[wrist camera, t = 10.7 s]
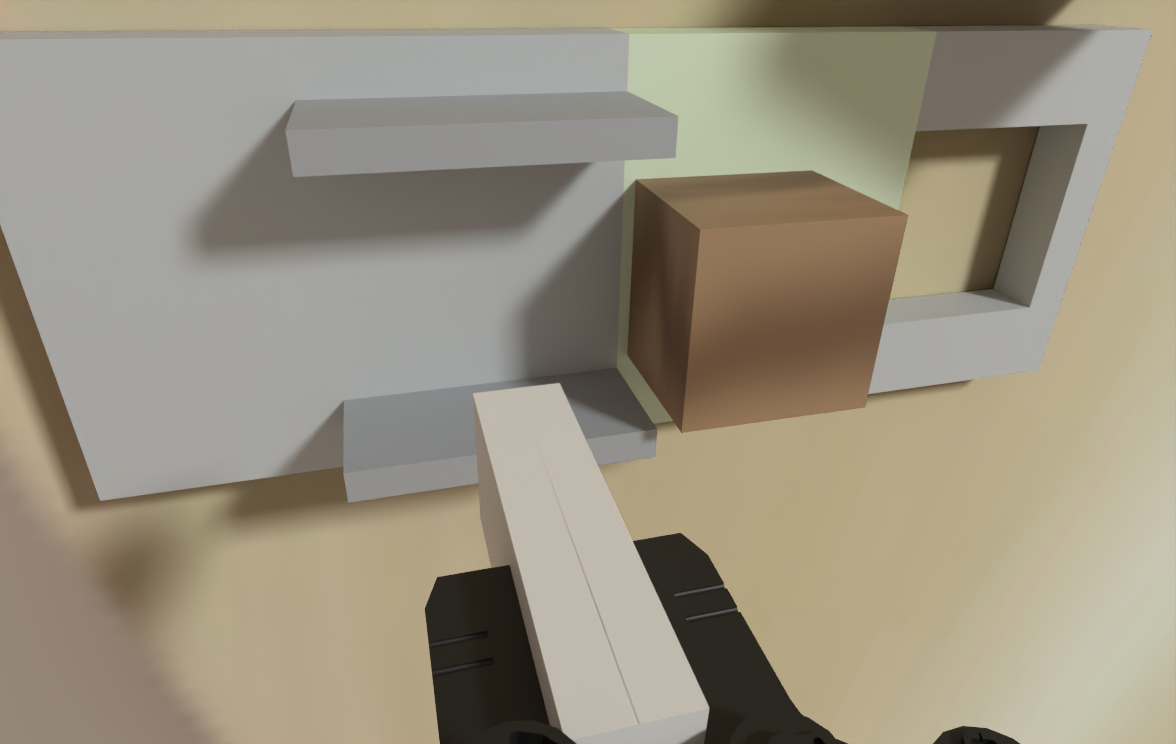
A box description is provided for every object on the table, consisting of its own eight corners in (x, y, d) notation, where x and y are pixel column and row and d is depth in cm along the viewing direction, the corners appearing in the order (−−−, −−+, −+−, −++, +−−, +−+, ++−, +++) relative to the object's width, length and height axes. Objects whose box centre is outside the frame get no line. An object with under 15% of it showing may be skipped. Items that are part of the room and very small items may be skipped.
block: (635, 179, 23) (700, 229, 19) (812, 170, 25) (908, 215, 20) (627, 355, 26) (681, 432, 22) (785, 337, 28) (864, 407, 23)
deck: (-30, 32, 19) (-168, 61, 14) (1102, 25, 27) (1275, 41, 22) (116, 464, 25) (58, 593, 20) (1003, 349, 34) (1120, 419, 28)
